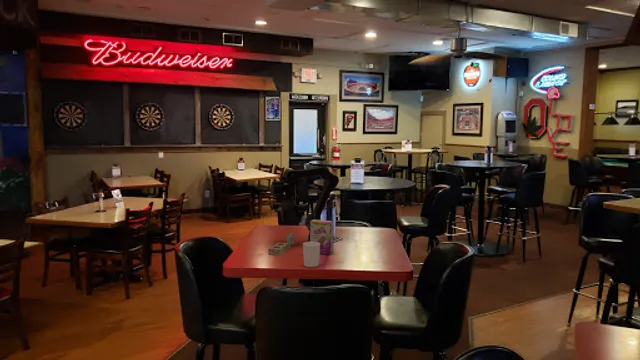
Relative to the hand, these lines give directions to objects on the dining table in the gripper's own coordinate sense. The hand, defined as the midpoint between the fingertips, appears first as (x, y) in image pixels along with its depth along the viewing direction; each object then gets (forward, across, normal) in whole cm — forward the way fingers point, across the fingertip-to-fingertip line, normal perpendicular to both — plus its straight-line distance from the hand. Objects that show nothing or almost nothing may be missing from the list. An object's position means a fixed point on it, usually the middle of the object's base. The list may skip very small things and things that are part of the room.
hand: (290, 222), depth 256 cm
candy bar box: (+13, +20, -11) cm, 26 cm away
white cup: (+12, +21, -33) cm, 41 cm away
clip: (+12, 0, 0) cm, 12 cm away
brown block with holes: (+12, -2, -14) cm, 19 cm away
